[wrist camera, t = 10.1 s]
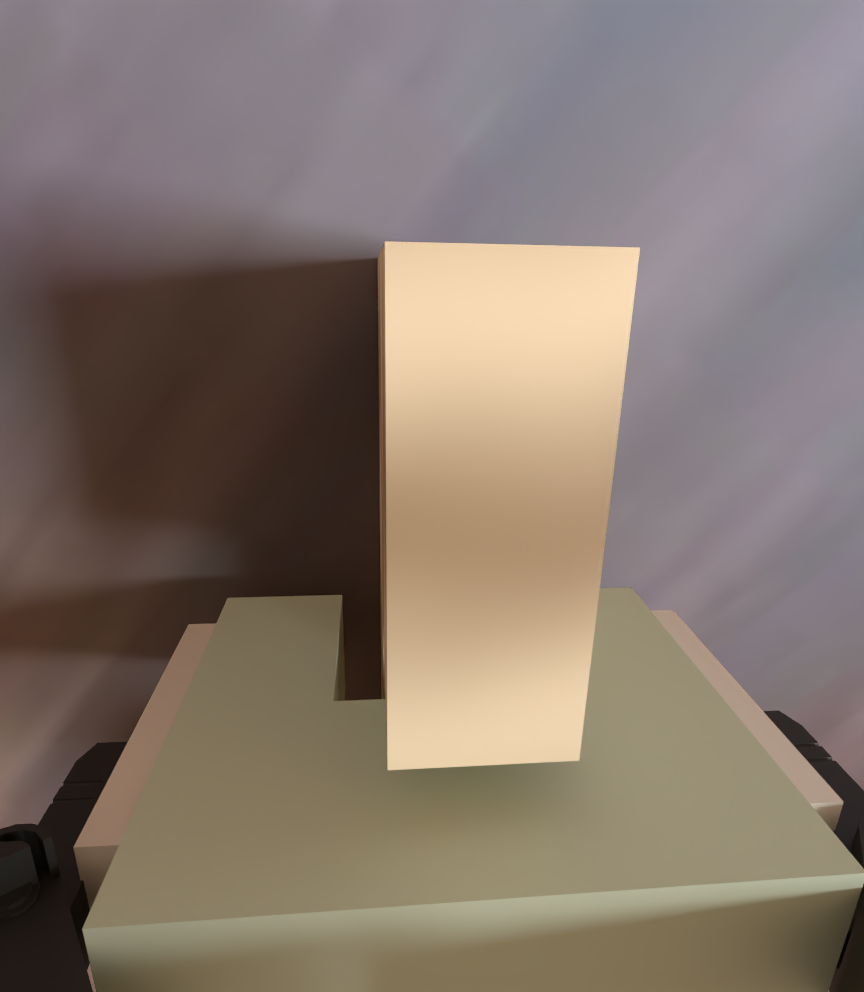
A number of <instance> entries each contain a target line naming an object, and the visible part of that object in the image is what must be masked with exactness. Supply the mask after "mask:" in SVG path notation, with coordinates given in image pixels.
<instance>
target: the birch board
mask: <svg viewBox="0 0 864 992" xmlns="http://www.w3.org/2000/svg"><path fill="white" fill-rule="evenodd" d="M639 252H640V248H629V247H588V246H548V245H507V244H466V243H426V242H384V245H383V247H382V249H381V252H380V254H379V256H378V340H379V458H380V575H381V693H382V699H385V706H386V737H387V769H388V770H404V769H424V768H444V767H463V766H483V765H503V764H523V763H543V762H563V761H579V758H580V750H581V741H582V733H583V725H584V716H585V708H586V699H587V691H588V682H589V674H590V666H591V657H592V649H593V640H594V632H595V623H596V615H597V606H598V598H599V590H600V581H601V573H602V564H603V556H604V547H605V539H606V530H607V522H608V514H609V505H610V497H611V488H612V480H613V471H614V463H615V455H616V446H617V438H618V429H619V421H620V412H621V404H622V395H623V387H624V379H625V370H626V362H627V353H628V345H629V336H630V328H631V319H632V311H633V303H634V294H635V286H636V277H637V269H638V260H639Z"/></svg>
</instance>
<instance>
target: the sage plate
mask: <svg viewBox="0 0 864 992" xmlns="http://www.w3.org/2000/svg"><path fill="white" fill-rule="evenodd" d="M863 884H864V869H863V867H862V866H861V865H860V864H859V863H858V861H857V860H856V859H855V858H854V857H853V855H852V854H851V853H850V852H849V850H848V849H847V848H846V847H845V846H844V844H843V843H842V842H841V841H840V840H839V838H838V837H837V836H836V835H835V834H834V832H833V831H832V830H831V829H830V827H829V826H828V825H827V824H826V823H825V821H824V820H823V819H822V818H821V817H820V815H819V814H818V813H817V812H816V811H815V809H814V808H813V807H812V806H811V804H810V803H809V802H808V801H807V800H806V798H805V797H804V796H803V795H802V794H801V792H800V791H799V790H798V789H797V788H796V786H795V785H794V784H793V783H792V781H791V780H790V779H789V778H788V777H787V775H786V774H785V773H784V772H783V771H782V769H781V768H780V767H779V766H778V765H777V763H776V762H775V761H774V760H773V759H772V757H771V756H770V755H769V754H768V752H767V751H766V750H765V749H764V748H763V746H762V745H761V744H760V743H759V742H758V740H757V739H756V738H755V737H754V736H753V734H752V733H751V732H750V731H749V729H748V728H747V727H746V726H745V725H744V723H743V722H742V721H741V720H740V719H739V717H738V716H737V715H736V714H735V713H734V711H733V710H732V709H731V708H730V706H729V705H728V704H727V703H726V702H725V700H724V699H723V698H722V697H721V696H720V694H719V693H718V692H717V691H716V690H715V688H714V687H713V686H712V685H711V683H710V682H709V681H708V680H707V679H706V677H705V676H704V675H703V674H702V673H701V671H700V670H699V669H698V668H697V667H696V665H695V664H694V663H693V662H692V661H691V659H690V658H689V657H688V656H687V654H686V653H685V652H684V651H683V650H682V648H681V647H680V646H679V645H678V644H677V642H676V641H675V640H674V639H673V638H672V636H671V635H670V634H669V633H668V631H667V630H666V629H665V628H664V627H663V625H662V624H661V623H660V622H659V621H658V619H657V618H656V617H655V616H654V615H653V613H652V612H651V611H650V610H649V608H648V607H647V606H646V605H645V604H644V602H643V601H642V600H641V599H640V598H639V596H638V595H637V594H636V593H635V592H634V590H633V589H632V588H631V587H623V588H600V590H599V598H598V606H597V615H596V623H595V632H594V640H593V649H592V657H591V666H590V674H589V682H588V691H587V699H586V708H585V716H584V725H583V733H582V741H581V750H580V758H579V761H563V762H543V763H523V764H503V765H483V766H463V767H444V768H424V769H404V770H388V769H387V737H386V706H385V699H375V700H351V701H345V665H344V632H343V600H342V595H317V596H279V597H241V598H227V600H226V603H225V605H224V607H223V609H222V612H221V614H220V616H219V619H218V621H217V623H216V625H215V628H214V630H213V632H212V634H211V637H210V639H209V641H208V644H207V646H206V648H205V650H204V653H203V655H202V657H201V659H200V662H199V664H198V666H197V669H196V671H195V673H194V675H193V678H192V680H191V682H190V685H189V687H188V689H187V691H186V694H185V696H184V698H183V700H182V703H181V705H180V707H179V710H178V712H177V714H176V716H175V719H174V721H173V723H172V725H171V728H170V730H169V732H168V735H167V737H166V739H165V741H164V744H163V746H162V748H161V751H160V753H159V755H158V757H157V760H156V762H155V764H154V766H153V769H152V771H151V773H150V776H149V778H148V780H147V782H146V785H145V787H144V789H143V791H142V794H141V796H140V798H139V801H138V803H137V805H136V807H135V810H134V812H133V814H132V816H131V819H130V821H129V823H128V826H127V828H126V830H125V832H124V835H123V837H122V839H121V842H120V844H119V846H118V848H117V851H116V853H115V855H114V857H113V860H112V862H111V864H110V867H109V869H108V871H107V873H106V876H105V878H104V880H103V882H102V885H101V887H100V889H99V892H98V894H97V896H96V898H95V901H94V903H93V905H92V908H91V910H90V912H89V914H88V917H87V919H86V921H85V923H84V926H83V928H82V931H83V935H84V940H85V944H86V949H87V953H88V957H89V962H90V966H91V971H92V975H93V979H94V984H95V988H96V992H828V991H829V988H830V985H831V982H832V979H833V976H834V973H835V970H836V967H837V963H838V960H839V957H840V954H841V951H842V948H843V945H844V942H845V939H846V936H847V933H848V930H849V927H850V924H851V921H852V918H853V915H854V912H855V908H856V905H857V902H858V899H859V896H860V893H861V890H862V887H863Z"/></svg>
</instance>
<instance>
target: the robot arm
mask: <svg viewBox="0 0 864 992" xmlns="http://www.w3.org/2000/svg"><path fill="white" fill-rule="evenodd" d="M651 612H652V613H653V615H654V616H655V617H656V618H657V619H658V621H659V622H660V623H661V624H662V625H663V627H664V628H665V629H666V630H667V631H668V633H669V634H670V635H671V636H672V638H673V639H674V640H675V641H676V642H677V644H678V645H679V646H680V647H681V648H682V650H683V651H684V652H685V653H686V654H687V656H688V657H689V658H690V659H691V661H692V662H693V663H694V664H695V665H696V667H697V668H698V669H699V670H700V671H701V673H702V674H703V675H704V676H705V677H706V679H707V680H708V681H709V682H710V683H711V685H712V686H713V687H714V688H715V690H716V691H717V692H718V693H719V694H720V696H721V697H722V698H723V699H724V700H725V702H726V703H727V704H728V705H729V706H730V708H731V709H732V710H733V711H734V713H735V714H736V715H737V716H738V717H739V719H740V720H741V721H742V722H743V723H744V725H745V726H746V727H747V728H748V729H749V731H750V732H751V733H752V734H753V736H754V737H755V738H756V739H757V740H758V742H759V743H760V744H761V745H762V746H763V748H764V749H765V750H766V751H767V752H768V754H769V755H770V756H771V757H772V759H773V760H774V761H775V762H776V763H777V765H778V766H779V767H780V768H781V769H782V771H783V772H784V773H785V774H786V775H787V777H788V778H789V779H790V780H791V781H792V783H793V784H794V785H795V786H796V788H797V789H798V790H799V791H800V792H801V794H802V795H803V796H804V797H805V798H806V800H807V801H808V802H809V803H810V804H811V806H812V807H813V808H814V809H815V811H816V812H817V813H818V814H819V815H820V817H821V818H822V819H823V820H824V821H825V823H826V824H827V825H828V826H829V827H830V829H831V830H832V831H833V832H834V834H835V835H836V836H837V837H838V838H839V840H840V841H841V842H842V843H843V844H844V846H845V847H846V848H847V849H848V850H849V852H850V853H851V854H852V855H853V857H854V858H855V859H856V860H857V861H858V863H859V864H860V865H861V866H862V867H863V869H864V791H863V790H862V789H861V788H860V786H859V785H858V784H857V783H856V782H855V781H854V780H853V779H852V778H851V777H850V776H849V775H848V774H847V773H846V772H845V771H844V770H843V769H842V767H841V766H840V765H839V764H838V763H837V762H836V761H833V760H832V757H831V756H830V755H829V754H828V753H827V752H826V751H825V750H824V748H823V747H822V746H819V745H818V742H817V741H816V740H815V739H814V738H813V737H812V736H811V735H810V734H809V733H808V732H807V731H806V729H805V728H804V727H803V726H802V725H800V724H799V723H797V722H795V721H794V720H792V719H791V718H789V717H788V716H786V715H785V714H783V713H782V712H780V711H762V710H761V708H760V707H759V706H758V705H757V704H756V703H755V702H754V701H753V699H752V698H751V697H750V696H749V695H748V694H747V693H746V692H745V690H744V689H743V688H742V687H741V686H740V685H739V684H738V683H737V681H736V680H735V679H734V678H733V677H732V676H731V675H730V674H729V672H728V671H727V670H726V669H725V668H724V667H723V666H722V665H721V663H720V662H719V661H718V660H717V659H716V658H715V657H714V656H713V655H712V653H711V652H710V651H709V650H708V649H707V648H706V647H705V646H704V644H703V643H702V642H701V641H700V640H699V639H698V638H697V637H696V635H695V634H694V633H693V632H692V631H691V630H690V629H689V628H688V626H687V625H686V624H685V623H684V622H683V621H682V620H681V619H680V617H679V616H678V615H677V614H676V613H675V612H674V611H673V610H657V611H651ZM215 625H216V623H213V624H188V626H187V628H186V630H185V632H184V634H183V636H182V638H181V640H180V642H179V644H178V646H177V648H176V650H175V652H174V654H173V655H172V657H171V659H170V661H169V663H168V665H167V667H166V669H165V671H164V673H163V675H162V677H161V679H160V681H159V683H158V684H157V686H156V688H155V690H154V692H153V694H152V696H151V698H150V700H149V702H148V704H147V706H146V708H145V710H144V712H143V714H142V715H141V717H140V719H139V721H138V723H137V725H136V727H135V729H134V731H133V733H132V735H131V737H130V739H129V741H128V742H109V743H97V744H96V745H95V746H93V747H92V748H91V749H90V750H89V751H88V752H87V753H85V754H84V755H83V756H82V757H81V758H80V759H78V760H77V761H76V763H75V764H74V766H73V768H72V769H71V771H70V773H69V774H68V776H67V777H66V779H65V781H64V782H63V783H64V784H63V787H60V789H59V791H58V792H57V794H56V796H55V797H54V799H53V804H50V806H49V807H48V809H47V811H46V812H45V814H44V816H43V817H42V819H41V821H40V822H39V824H38V825H35V824H16V825H12V826H9V827H6V828H3V829H0V992H93V991H92V987H91V983H90V980H89V976H88V973H87V969H88V966H89V964H90V962H89V957H88V953H87V949H86V944H85V940H84V935H83V931H82V928H83V926H84V923H85V921H86V919H87V917H88V914H89V912H90V910H91V908H92V905H93V903H94V901H95V898H96V896H97V894H98V892H99V889H100V887H101V885H102V882H103V880H104V878H105V876H106V873H107V871H108V869H109V867H110V864H111V862H112V860H113V857H114V855H115V853H116V851H117V848H118V846H119V844H120V842H121V839H122V837H123V835H124V832H125V830H126V828H127V826H128V823H129V821H130V819H131V816H132V814H133V812H134V810H135V807H136V805H137V803H138V801H139V798H140V796H141V794H142V791H143V789H144V787H145V785H146V782H147V780H148V778H149V776H150V773H151V771H152V769H153V766H154V764H155V762H156V760H157V757H158V755H159V753H160V751H161V748H162V746H163V744H164V741H165V739H166V737H167V735H168V732H169V730H170V728H171V725H172V723H173V721H174V719H175V716H176V714H177V712H178V710H179V707H180V705H181V703H182V700H183V698H184V696H185V694H186V691H187V689H188V687H189V685H190V682H191V680H192V678H193V675H194V673H195V671H196V669H197V666H198V664H199V662H200V659H201V657H202V655H203V653H204V650H205V648H206V646H207V644H208V641H209V639H210V637H211V634H212V632H213V630H214V628H215ZM829 992H864V884H863V887H862V890H861V893H860V896H859V899H858V902H857V905H856V908H855V912H854V915H853V918H852V921H851V924H850V927H849V930H848V933H847V936H846V939H845V942H844V945H843V948H842V951H841V954H840V957H839V960H838V963H837V967H836V970H835V973H834V976H833V979H832V982H831V985H830V988H829Z"/></svg>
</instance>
